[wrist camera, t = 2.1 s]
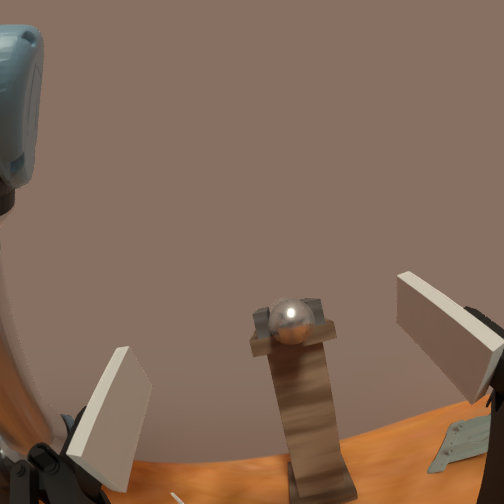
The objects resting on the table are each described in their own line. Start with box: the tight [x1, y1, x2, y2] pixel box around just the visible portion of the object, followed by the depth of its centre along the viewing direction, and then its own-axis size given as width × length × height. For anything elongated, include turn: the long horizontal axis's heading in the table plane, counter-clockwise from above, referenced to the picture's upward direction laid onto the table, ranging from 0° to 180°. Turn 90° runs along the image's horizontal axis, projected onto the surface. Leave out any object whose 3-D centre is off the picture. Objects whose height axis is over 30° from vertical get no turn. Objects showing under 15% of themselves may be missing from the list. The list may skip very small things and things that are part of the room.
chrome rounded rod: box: [269, 298, 315, 345], centre depth 33 cm, size 20×4×4 cm, turn 176°
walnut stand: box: [250, 298, 357, 504], centre depth 35 cm, size 14×10×33 cm
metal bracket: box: [427, 413, 491, 474], centre depth 24 cm, size 14×6×15 cm
